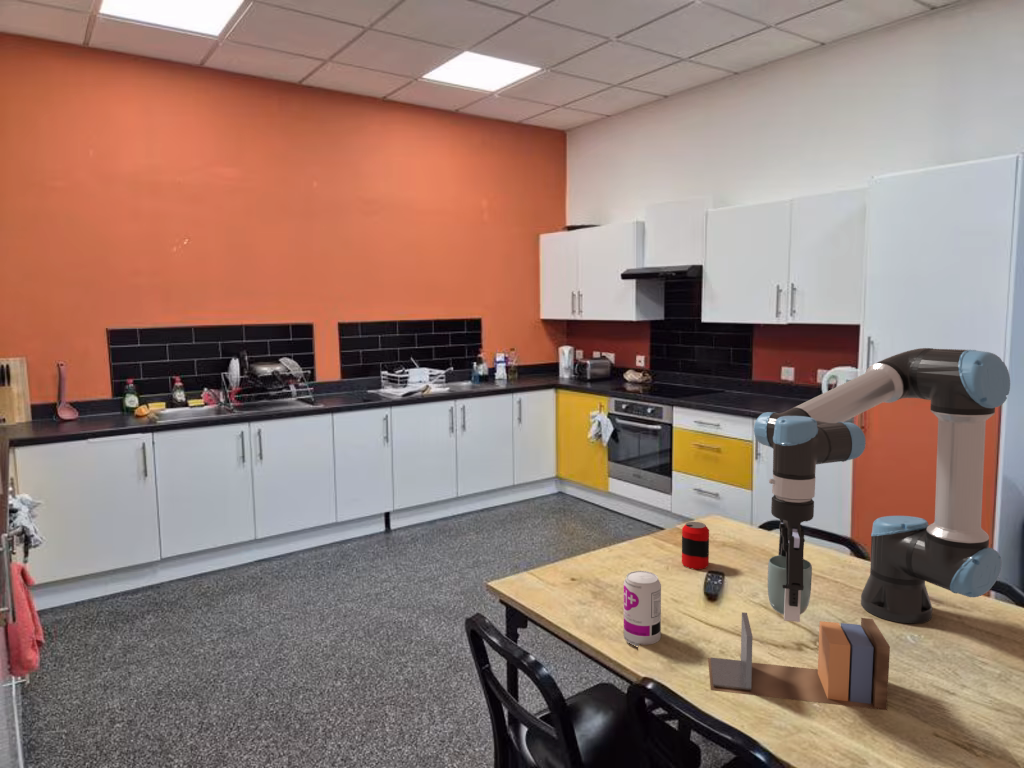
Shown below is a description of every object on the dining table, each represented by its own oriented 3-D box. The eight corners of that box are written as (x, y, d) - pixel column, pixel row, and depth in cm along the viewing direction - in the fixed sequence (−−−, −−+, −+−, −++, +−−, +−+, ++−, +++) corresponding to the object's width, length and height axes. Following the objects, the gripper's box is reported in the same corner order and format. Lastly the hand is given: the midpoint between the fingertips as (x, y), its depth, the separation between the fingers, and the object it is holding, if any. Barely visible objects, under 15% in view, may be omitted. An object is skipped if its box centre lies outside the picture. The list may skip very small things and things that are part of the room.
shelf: (868, 680, 132) (871, 617, 131) (887, 716, 121) (890, 647, 119) (707, 663, 140) (708, 603, 138) (710, 695, 128) (711, 630, 127)
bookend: (745, 663, 137) (746, 612, 136) (751, 690, 127) (752, 636, 126) (710, 659, 138) (711, 609, 137) (713, 686, 129) (714, 632, 128)
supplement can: (633, 652, 145) (633, 586, 143) (617, 634, 153) (617, 572, 151) (667, 646, 147) (667, 581, 145) (649, 629, 155) (650, 567, 153)
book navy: (857, 677, 131) (860, 624, 130) (870, 703, 123) (873, 647, 121) (838, 675, 132) (840, 623, 131) (850, 701, 123) (852, 645, 122)
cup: (760, 612, 129) (762, 563, 128) (775, 599, 135) (776, 552, 134) (802, 624, 124) (804, 573, 123) (815, 610, 130) (817, 561, 129)
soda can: (676, 561, 196) (677, 522, 194) (699, 558, 198) (699, 519, 196) (690, 571, 188) (691, 530, 187) (713, 567, 191) (714, 527, 189)
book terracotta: (836, 675, 132) (838, 622, 131) (848, 701, 124) (850, 645, 122) (817, 673, 133) (819, 621, 132) (827, 698, 124) (829, 643, 123)
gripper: (766, 482, 138) (762, 587, 140) (778, 511, 118) (774, 633, 120) (805, 484, 136) (800, 590, 138) (824, 514, 116) (819, 637, 118)
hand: (788, 610), depth 129 cm, fingers closed on cup, 8 cm apart
